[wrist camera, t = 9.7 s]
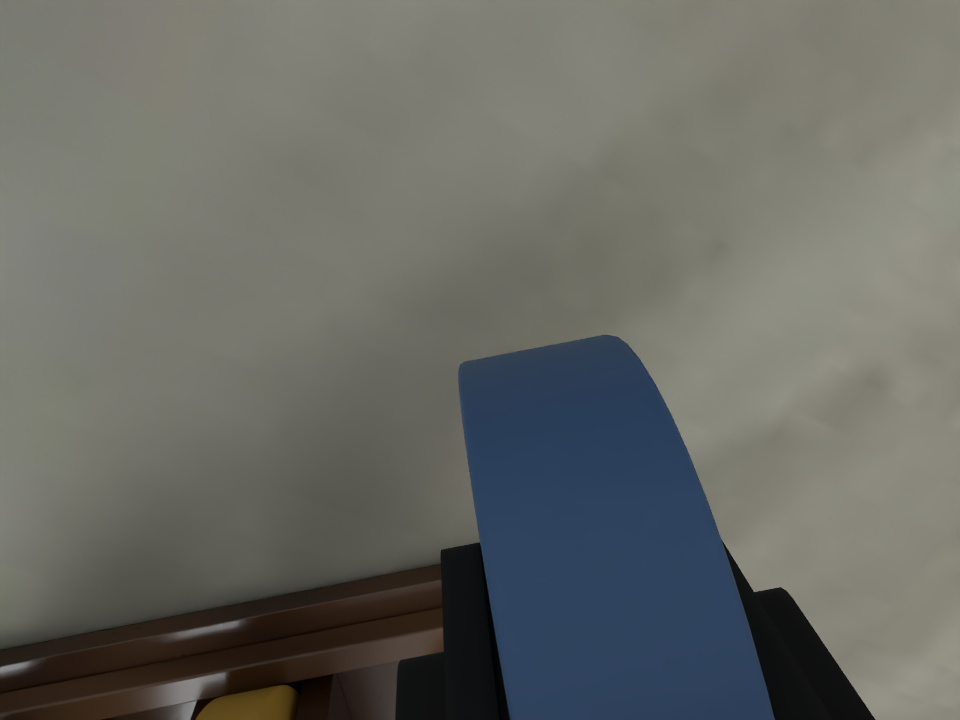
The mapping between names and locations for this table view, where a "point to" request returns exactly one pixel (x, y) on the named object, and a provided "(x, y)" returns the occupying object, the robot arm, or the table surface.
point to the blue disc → (601, 544)
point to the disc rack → (237, 656)
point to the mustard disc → (254, 705)
